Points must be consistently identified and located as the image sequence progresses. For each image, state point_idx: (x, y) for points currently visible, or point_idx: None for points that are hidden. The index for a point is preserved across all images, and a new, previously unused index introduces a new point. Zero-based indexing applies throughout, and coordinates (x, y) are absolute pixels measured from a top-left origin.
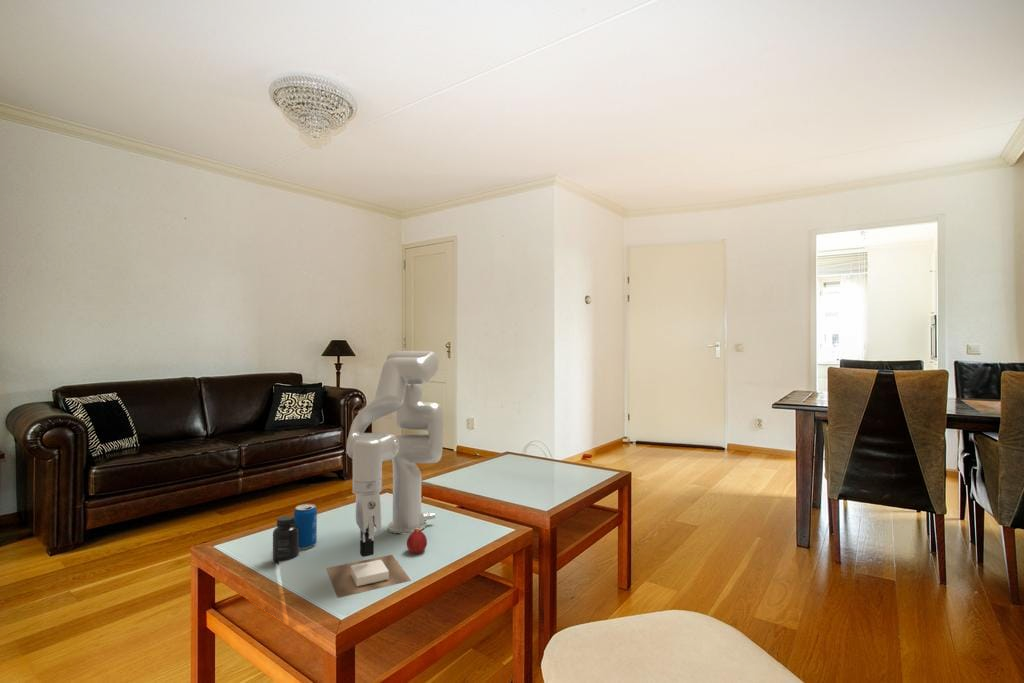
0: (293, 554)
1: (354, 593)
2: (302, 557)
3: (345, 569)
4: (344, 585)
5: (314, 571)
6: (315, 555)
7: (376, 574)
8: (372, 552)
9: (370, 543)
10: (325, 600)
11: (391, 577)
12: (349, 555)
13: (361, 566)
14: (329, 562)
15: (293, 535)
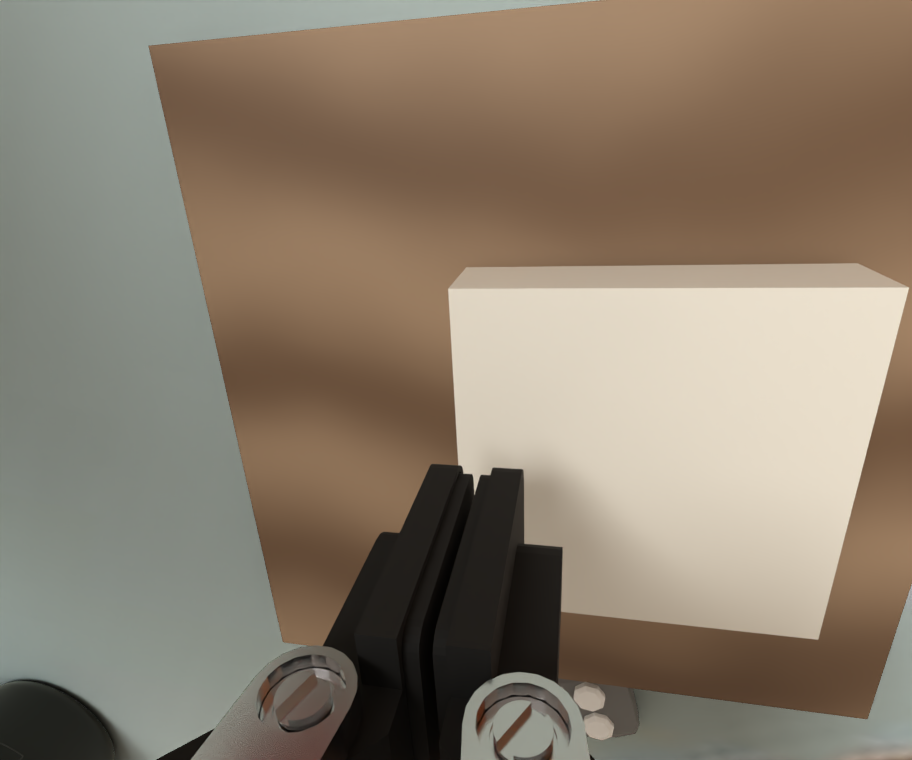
0: (56, 758)
1: (894, 611)
2: (33, 659)
3: (362, 548)
4: (670, 628)
5: (256, 660)
6: (12, 599)
7: (864, 445)
8: (519, 497)
9: (556, 680)
10: (744, 722)
11: (798, 210)
12: (38, 417)
13: (541, 528)
14: (138, 560)
15: None
